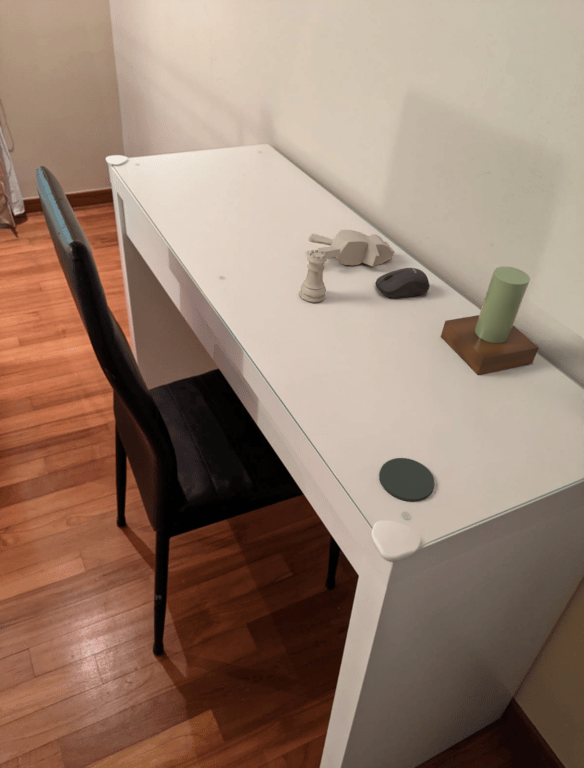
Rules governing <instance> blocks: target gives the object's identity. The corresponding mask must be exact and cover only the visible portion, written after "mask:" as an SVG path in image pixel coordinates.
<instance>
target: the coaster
mask: <svg viewBox="0 0 584 768" xmlns="http://www.w3.org/2000/svg"><path fill="white" fill-rule="evenodd" d="M378 475H379V476H378V477H379V482H380V485H381V486H382V487H383V489H384V490H385V492H387V493H388V494H389V495H391V496H392V497H394V498H395V499H398V500H401V501H404V502H419V501H423V500H425V499H427V498H428V497H429V496H430V495H431V494H432V493H433V491H434V488H435V478H434V475H433V473H432V472H431V470H430V469H429V468H428V467H427V466H425V465H424V464H423V463H421V462H419V461H417V460H414V459H413V458H407V457H396V458H392V459H389V460H388V461H386V462H384V463H383V464H382V466H381V468H380V470H379V474H378Z"/></svg>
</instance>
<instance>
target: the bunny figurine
mask: <svg viewBox="0 0 584 768" xmlns="http://www.w3.org/2000/svg"><path fill="white" fill-rule="evenodd" d="M308 241H309V242H310V243H314V244H319V245H325V246H324V247H318V248H317V249H318V252H320V251H321V250H322V251H324V253H325V256H326V258H327V260H329V259H332V258H336V259H337V260H338V261H339V262H340V264H341V265H343V266H345V265H346V266H359V265H360V264H365V265H368V266H370V267H377V266H378V265H379V266H380V265H382V264H384V263H386V262H387V261H388V260H392V259H393V258H394V254H395V250H394V249H393V248H392V247H391V245H390V244H389V243H388V241H385V240H383V238H382V237H381V236H380V235H378V234H370V235H367V234H365V233H363V232H360V231H357V230H353V229H340V230H339V231H338V232H337V234H336V235H335V236H334V237H333V238H330V237H327V236H324V235H320V234H317V233H311V234H310V235H309V237H308Z"/></svg>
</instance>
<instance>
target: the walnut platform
mask: <svg viewBox="0 0 584 768" xmlns="http://www.w3.org/2000/svg"><path fill="white" fill-rule="evenodd" d="M478 318H479V314H477V315H471V316H465V317H464V316H463V317H458V318H454V319H448V320H445V321H444V324H443V327H442V331H441V334H440V338H441V339H442V340H443V341H444V342H445V343H446V344H447V345H448V346H449V347H450V348H451V349H452V350H453V351H454V352H455V353H456V354H457V355H458V356H459V357H460V358H461V359H462V360H463V361H464V362H465V363H466V365H467V366H468V367H469V368H471V369H472V371H473V372H474V373H475V374H476V375H477V376H479V375H480V376H481V375H484V374H485V375H486V374H489V373H495V372H499V371H503V370H508V369H513V368H517V367H522V366H528V365H531V364H534V361H535V358H536V356H537V354H538V351H539V349H540V348H539V346H538V345H536V343H534V342H533V341H532V339H530V338H529V337H527V336H526V335H525V334H524V333H523V332H522V331H521V330H519V329H518V328H517V327H516V326H515V325H514V324H513V327H512V329H511V332H510V335H509V337H508V339H507V341H505V342H503V343H491V342H487V341H485V340H482V339H481V338H479V337H478V336H477V335H476V333H475V327H476V324H477V321H478Z"/></svg>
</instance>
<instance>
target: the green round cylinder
mask: <svg viewBox="0 0 584 768" xmlns="http://www.w3.org/2000/svg"><path fill="white" fill-rule="evenodd" d="M530 281H531V278H530V276H529V274H528V273H526V272H525V271H523V270H521V269H519V268H516V267H513V266H497V267H496V268H495V269H494V270H493V272H492V275H491V278H490V282H489V284H488V287H487V291H486V293H485V297H484V299H483V303H482V306H481V308H480V310H479V311H480V312H479V314H478V315H479V318H478V321H477V324H476V327H475V333H476V335H477V336H478V337H479V338H481V339H482V340H485V341H487V342H491V343H503V342H505V341H507V339H508V337H509V335H510V332H511V329H512V327H513V325H514V323H515V321H516V318H517V315H518V313H519V310H520V308H521V306H522V305H521V304H522V302H523V300H524V297H525V294H526V292H527V289H528V286H529V283H530Z"/></svg>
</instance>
